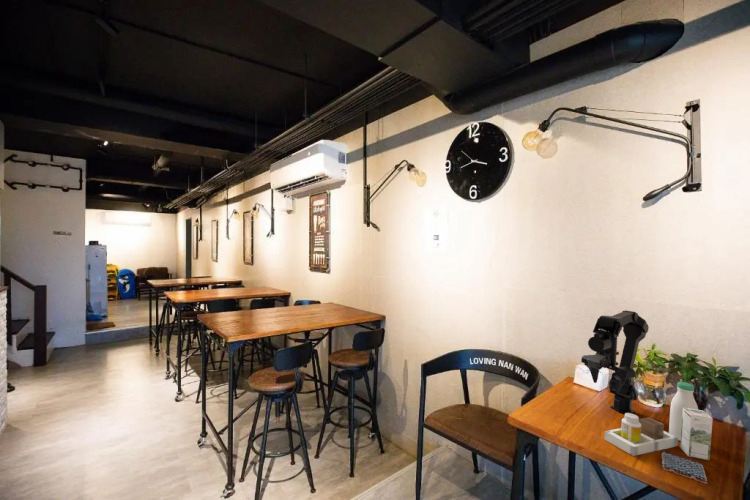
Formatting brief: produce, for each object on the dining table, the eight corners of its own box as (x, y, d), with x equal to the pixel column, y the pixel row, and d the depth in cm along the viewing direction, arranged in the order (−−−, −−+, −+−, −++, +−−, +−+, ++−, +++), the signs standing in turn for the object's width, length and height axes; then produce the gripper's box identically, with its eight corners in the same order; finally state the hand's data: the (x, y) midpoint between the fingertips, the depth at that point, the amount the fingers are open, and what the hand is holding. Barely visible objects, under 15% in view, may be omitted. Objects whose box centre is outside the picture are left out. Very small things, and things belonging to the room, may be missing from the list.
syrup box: (700, 451, 119) (702, 409, 119) (710, 461, 113) (713, 417, 113) (679, 447, 121) (682, 406, 120) (688, 457, 115) (691, 414, 115)
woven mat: (661, 471, 108) (662, 464, 108) (660, 455, 116) (661, 449, 116) (707, 486, 102) (708, 479, 102) (703, 469, 110) (703, 462, 110)
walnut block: (647, 436, 128) (648, 417, 127) (662, 443, 123) (663, 424, 123) (638, 438, 126) (639, 418, 126) (653, 445, 121) (654, 425, 121)
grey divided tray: (647, 431, 131) (647, 423, 131) (677, 446, 122) (677, 437, 122) (604, 439, 124) (604, 431, 124) (633, 456, 115) (633, 446, 114)
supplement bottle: (642, 445, 121) (643, 416, 121) (637, 451, 117) (639, 421, 117) (623, 438, 125) (624, 410, 125) (618, 443, 122) (619, 414, 121)
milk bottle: (690, 446, 122) (694, 389, 122) (664, 435, 129) (667, 381, 128) (700, 441, 125) (704, 386, 125) (674, 430, 132) (677, 378, 132)
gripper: (572, 342, 144) (570, 380, 145) (616, 357, 127) (614, 399, 127) (592, 341, 148) (590, 377, 148) (637, 355, 131) (635, 396, 131)
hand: (605, 387), depth 139 cm, fingers open, 9 cm apart
